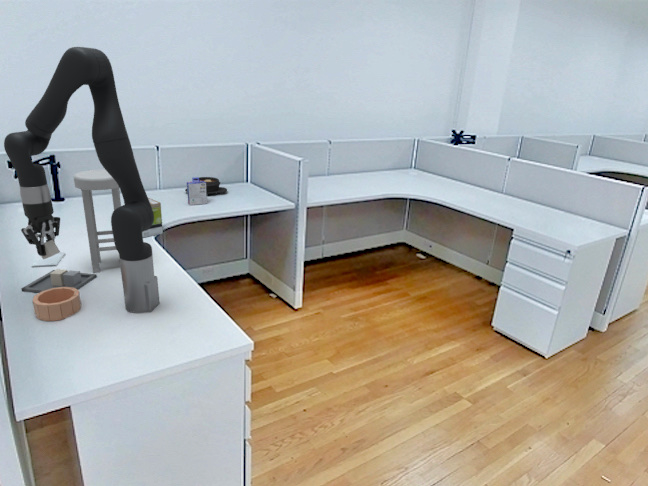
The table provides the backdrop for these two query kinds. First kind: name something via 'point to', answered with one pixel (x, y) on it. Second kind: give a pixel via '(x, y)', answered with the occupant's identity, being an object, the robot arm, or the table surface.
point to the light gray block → (72, 278)
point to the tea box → (155, 220)
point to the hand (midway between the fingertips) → (47, 252)
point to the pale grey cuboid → (50, 249)
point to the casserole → (212, 185)
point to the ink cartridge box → (196, 192)
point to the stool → (86, 184)
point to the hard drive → (49, 260)
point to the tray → (46, 284)
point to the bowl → (56, 303)
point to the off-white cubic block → (58, 277)
